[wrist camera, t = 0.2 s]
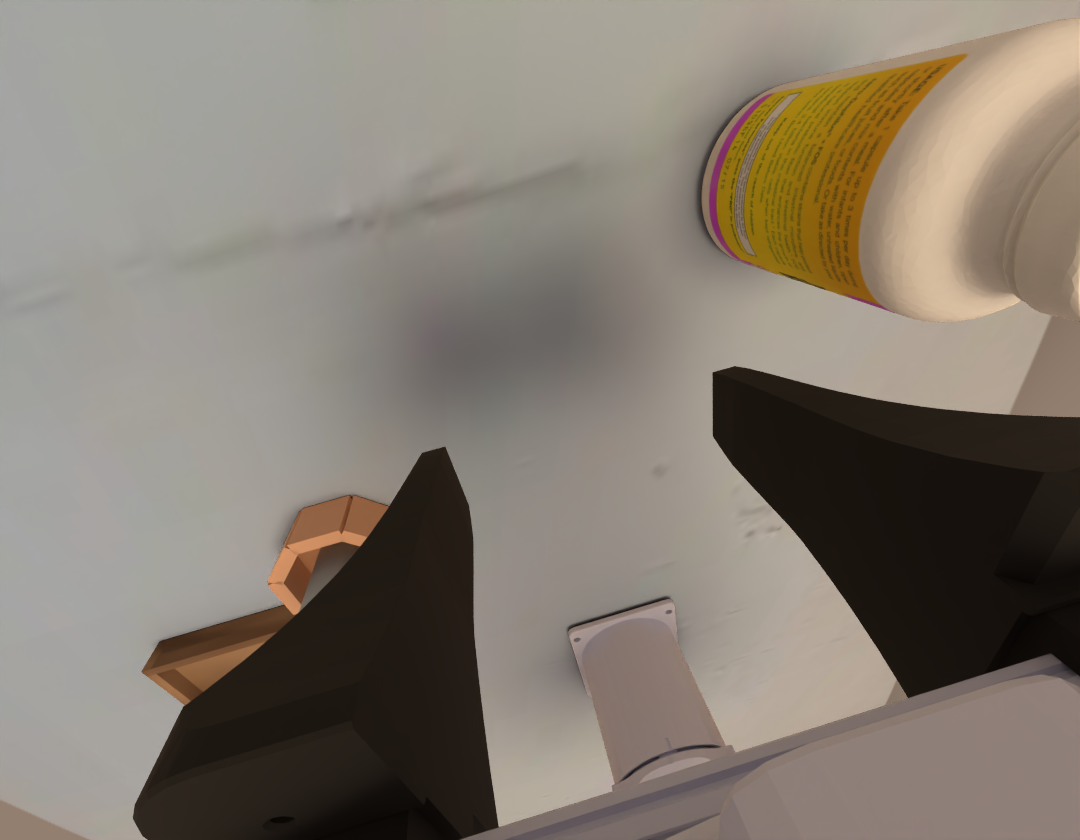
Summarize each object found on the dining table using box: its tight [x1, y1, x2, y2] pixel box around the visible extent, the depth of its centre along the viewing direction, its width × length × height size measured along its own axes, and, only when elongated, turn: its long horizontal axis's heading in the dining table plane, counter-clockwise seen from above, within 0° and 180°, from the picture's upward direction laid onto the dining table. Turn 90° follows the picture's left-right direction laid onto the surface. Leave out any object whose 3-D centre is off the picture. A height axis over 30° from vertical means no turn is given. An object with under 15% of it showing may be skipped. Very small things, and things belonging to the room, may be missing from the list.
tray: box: [142, 605, 296, 705], centre depth 28 cm, size 12×9×2 cm
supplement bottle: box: [702, 18, 1080, 322], centre depth 13 cm, size 7×7×13 cm
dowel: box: [299, 542, 360, 612], centre depth 21 cm, size 3×3×8 cm
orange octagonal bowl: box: [267, 495, 389, 615], centre depth 24 cm, size 7×7×3 cm
